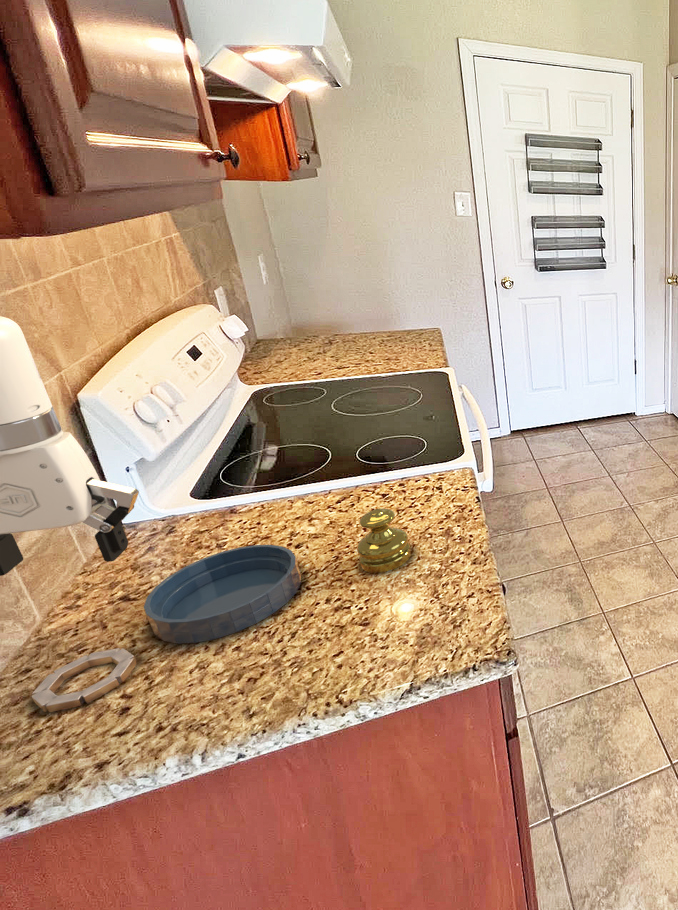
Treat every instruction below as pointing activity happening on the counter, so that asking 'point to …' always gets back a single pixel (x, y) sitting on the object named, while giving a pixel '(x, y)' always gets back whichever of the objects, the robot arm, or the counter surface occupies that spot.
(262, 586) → the bowl
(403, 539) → the brass weight
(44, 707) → the ring
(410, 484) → the counter surface
